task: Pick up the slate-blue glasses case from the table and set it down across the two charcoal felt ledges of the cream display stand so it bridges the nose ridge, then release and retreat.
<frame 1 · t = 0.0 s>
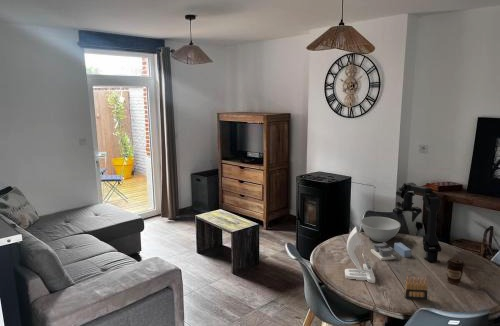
hand: (406, 222, 252), 15 cm above the table, fingers open, 9 cm apart
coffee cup: (453, 282, 201), on the table
display stand: (382, 255, 236), on the table
ammunition clip: (415, 298, 187), on the table
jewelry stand: (357, 271, 215), on the table
decorative bowl: (379, 238, 262), on the table
glasses case: (401, 253, 238), on the table
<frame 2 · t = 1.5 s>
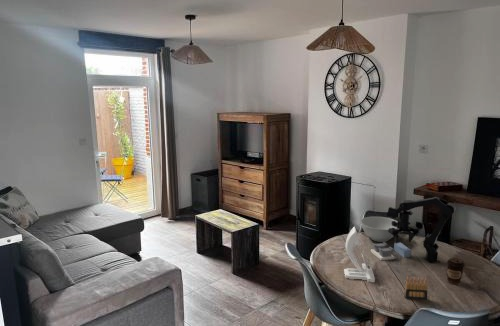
hand: (402, 243, 237), 7 cm above the table, fingers open, 9 cm apart
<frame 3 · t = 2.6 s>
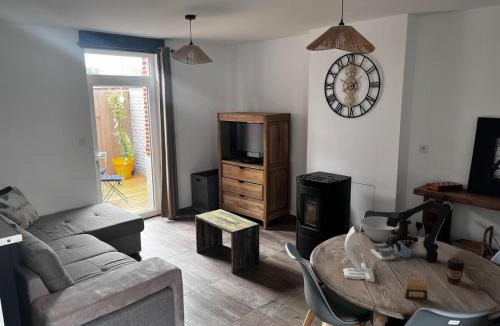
hand: (402, 251, 238), 1 cm above the table, fingers closed on glasses case, 4 cm apart
glasses case: (401, 253, 238), on the table, touching gripper
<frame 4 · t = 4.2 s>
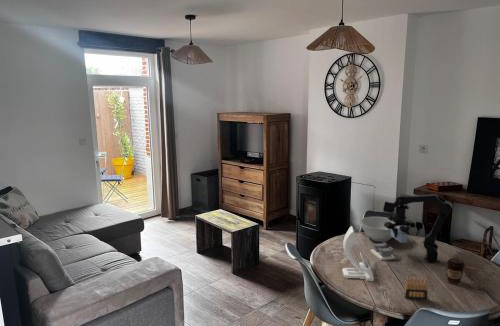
hand: (398, 237, 236), 11 cm above the table, fingers closed on glasses case, 4 cm apart
glasses case: (398, 238, 236), point 10 cm above the table, touching gripper
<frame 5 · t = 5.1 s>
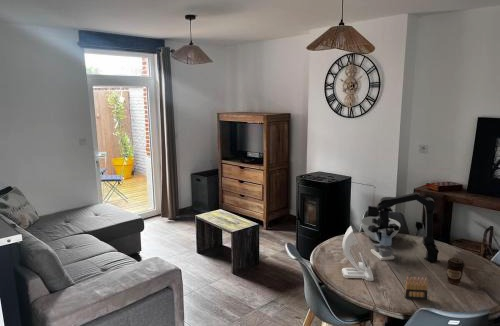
hand: (383, 240, 234), 10 cm above the table, fingers closed on glasses case, 4 cm apart
glasses case: (383, 242, 234), point 9 cm above the table, touching gripper
when the fingers open (7 cm above the table, at t = 5.8 s): glasses case stays where it is, resting on display stand.
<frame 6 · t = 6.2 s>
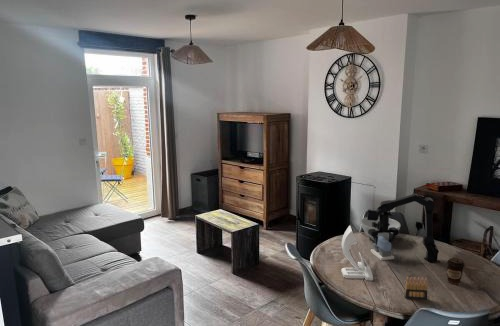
hand: (382, 244, 234), 7 cm above the table, fingers open, 9 cm apart
glasses case: (382, 247, 235), point 5 cm above the table, touching display stand
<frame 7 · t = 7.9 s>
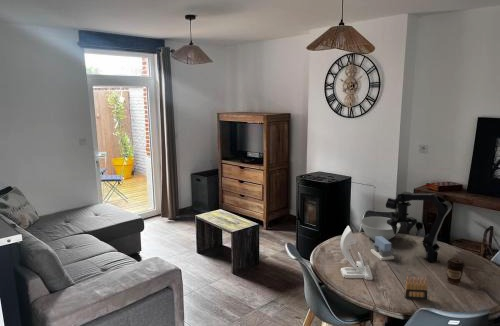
hand: (401, 233, 239), 12 cm above the table, fingers open, 9 cm apart
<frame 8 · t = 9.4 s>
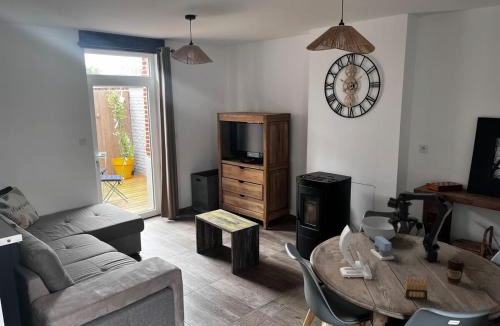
hand: (402, 233, 240), 12 cm above the table, fingers open, 9 cm apart
at the end: glasses case 0.0 cm off-centre on the display stand, point 5.5 cm above the display stand's base; glasses case tilted 0°; the gripper is holding nothing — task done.
